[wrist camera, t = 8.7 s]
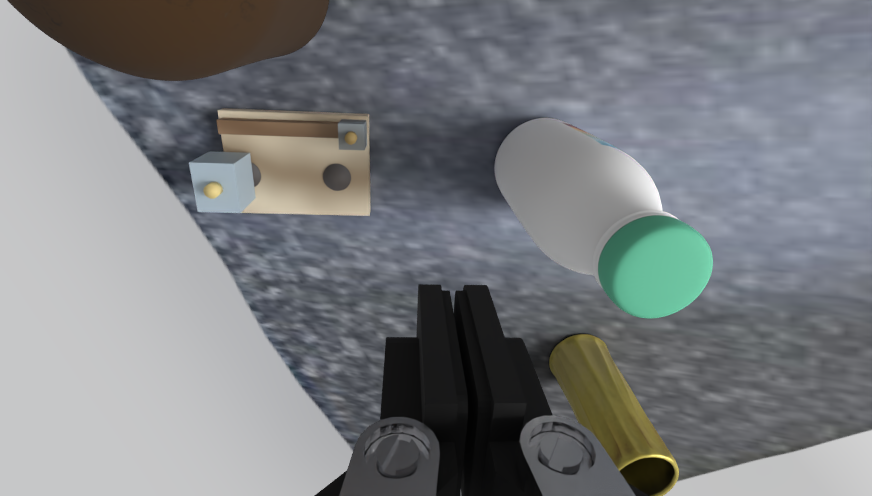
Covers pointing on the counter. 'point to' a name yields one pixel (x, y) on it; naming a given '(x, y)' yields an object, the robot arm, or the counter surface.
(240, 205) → the blue block with knob
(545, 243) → the milk bottle
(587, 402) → the vase
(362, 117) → the board
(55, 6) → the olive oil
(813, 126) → the counter surface
